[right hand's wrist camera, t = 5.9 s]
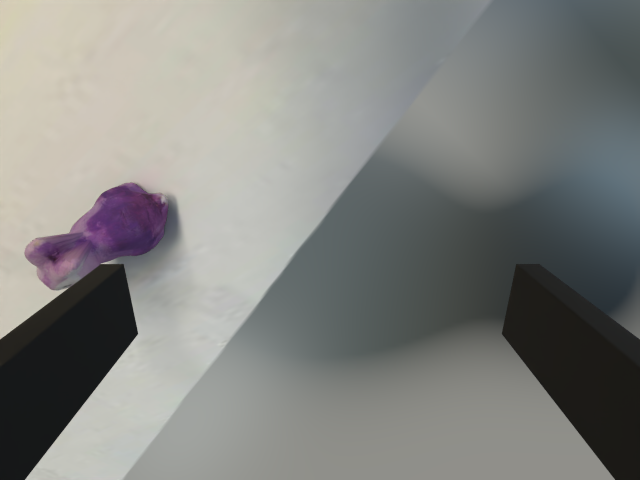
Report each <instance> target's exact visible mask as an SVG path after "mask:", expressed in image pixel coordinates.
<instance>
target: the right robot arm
mask: <svg viewBox="0 0 640 480" xmlns="http://www.w3.org/2000/svg"><path fill="white" fill-rule="evenodd" d="M137 335H138V331H137V326H136V321H135V316H134V312H133V307H132V302H131V297H130V292H129V288H128V283H127V278H126V273H125V268H124V264H100V265H99V266H98V267H96V268H95V269H94V270H92V271H91V272H90V273H88V274H87V275H86V276H84V277H83V278H82V279H80V280H79V281H78V282H76V283H75V284H74V285H72V286H71V287H70V288H68V289H67V290H66V291H64V292H63V293H62V294H60V295H59V296H58V297H56V298H55V299H54V300H52V301H51V302H50V303H48V304H47V305H46V306H44V307H43V308H42V309H40V310H39V311H38V312H36V313H35V314H34V315H32V316H31V317H30V318H28V319H27V320H26V321H24V322H23V323H22V324H20V325H19V326H18V327H16V328H15V329H14V330H12V331H11V332H10V333H8V334H7V335H6V336H4V337H3V338H2V339H0V480H25V479H26V477H27V476H28V475H29V474H30V472H31V471H32V470H33V468H34V467H35V466H36V465H37V463H38V462H39V461H40V459H41V458H42V457H43V456H44V454H45V453H46V452H47V450H48V449H49V448H50V447H51V445H52V444H53V443H54V441H55V440H56V439H57V438H58V436H59V435H60V434H61V432H62V431H63V430H64V429H65V427H66V426H67V425H68V423H69V422H70V421H71V420H72V418H73V417H74V416H75V414H76V413H77V412H78V411H79V409H80V408H81V407H82V405H83V404H84V403H85V402H86V400H87V399H88V398H89V396H90V395H91V394H92V393H93V391H94V390H95V389H96V387H97V386H98V385H99V384H100V382H101V381H102V380H103V378H104V377H105V376H106V375H107V373H108V372H109V371H110V369H111V368H112V367H113V366H114V364H115V363H116V362H117V360H118V359H119V358H120V357H121V355H122V354H123V353H124V351H125V350H126V349H127V348H128V346H129V345H130V344H131V342H132V341H133V340H134V339H135V337H136V336H137ZM502 335H503V336H504V337H505V338H506V340H507V341H508V342H509V344H510V345H511V346H512V348H513V349H514V350H515V351H516V353H517V354H518V355H519V356H520V358H521V359H522V360H523V362H524V363H525V364H526V366H527V367H528V368H529V369H530V371H531V372H532V373H533V375H534V376H535V377H536V378H537V380H538V381H539V382H540V384H541V385H542V386H543V387H544V389H545V390H546V391H547V393H548V394H549V395H550V396H551V398H552V399H553V400H554V402H555V403H556V404H557V405H558V407H559V408H560V409H561V411H562V412H563V413H564V414H565V416H566V417H567V418H568V419H569V421H570V422H571V423H572V425H573V426H574V427H575V429H576V430H577V431H578V432H579V434H580V435H581V436H582V438H583V439H584V440H585V441H586V443H587V444H588V445H589V447H590V448H591V449H592V450H593V452H594V453H595V454H596V456H597V457H598V458H599V459H600V461H601V462H602V463H603V465H604V466H605V467H606V468H607V470H608V471H609V472H610V474H611V475H612V476H613V477H614V479H615V480H640V339H638V338H637V337H636V336H634V335H633V334H632V333H630V332H629V331H628V330H626V329H625V328H624V327H622V326H621V325H620V324H618V323H617V322H616V321H614V320H613V319H612V318H610V317H609V316H608V315H606V314H605V313H604V312H602V311H601V310H600V309H598V308H597V307H596V306H594V305H593V304H592V303H590V302H589V301H588V300H586V299H585V298H584V297H582V296H581V295H580V294H578V293H577V292H576V291H574V290H573V289H572V288H570V287H569V286H568V285H566V284H565V283H564V282H562V281H561V280H560V279H558V278H557V277H556V276H554V275H553V274H552V273H550V272H549V271H548V270H546V269H545V268H544V267H542V266H541V265H540V264H516V268H515V273H514V278H513V283H512V288H511V293H510V297H509V302H508V307H507V312H506V316H505V321H504V326H503V331H502Z"/></svg>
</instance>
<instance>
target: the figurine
mask: <svg viewBox="0 0 640 480" xmlns="http://www.w3.org/2000/svg"><path fill="white" fill-rule="evenodd" d="M167 212H168V200H167V198H166V196H165V195H164V194H162V193H156V194H149V193H147V192H145V191H143V190H142V189H141V188H140V187H139V186H138V185H136V184H135V183H125V184H122V185H120V186H118V187H114V188H112V189H109V190H107V191H105V192H104V193H102V194H101V195H100V197H99V198H98V199H97V201H96V202H95V204H94V206H93V207H92V209H91V210H90V211H88V212H87V213H86V214H85V215H84V216H82V217H81V218H80V219H79V220H78V221H77V222H76V223H75V224H74V225H73V226H72V228H71V230H70V233H69V234H62V235H55V236H48V237H41V238H36V239H35V240H32V242H30V243H29V244H28V245H27V246H26V248H25V257H26V258H27V260H28V261H30V262H31V263H32V264H33V265H35V266H37V271H36V272H37V276H38V278H39V279H40V280H41V281H42V282H43V283H44V284H45V285H46V286H47V287H49V288H50V289H51V290H61V289H65V288H69V287H71V286H72V285H74V284H75V283H76V282H78V281H79V280H80V279H82V278H83V277H84V276H86V275H87V274H88V273H90V272H91V271H92V270H94V269H95V268H96V267H98V266H99V265H100V264H101V263H104V262H108V261H111V260H113V259H115V258H117V257H121V256H130V255H131V256H137V255H141V254H144V253H147V252H148V251H150V250H151V249H153V248H154V247H155V246H156V245H157V244H158V242H159V241H160V240H161V238H162V237H163V235H164V226H165V223H166V219H167Z"/></svg>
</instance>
